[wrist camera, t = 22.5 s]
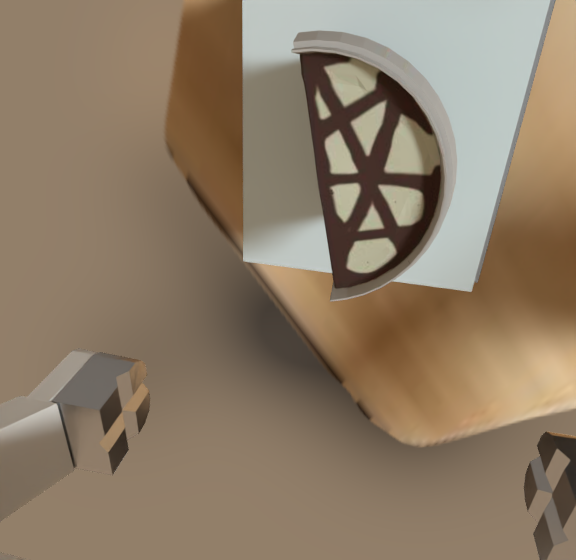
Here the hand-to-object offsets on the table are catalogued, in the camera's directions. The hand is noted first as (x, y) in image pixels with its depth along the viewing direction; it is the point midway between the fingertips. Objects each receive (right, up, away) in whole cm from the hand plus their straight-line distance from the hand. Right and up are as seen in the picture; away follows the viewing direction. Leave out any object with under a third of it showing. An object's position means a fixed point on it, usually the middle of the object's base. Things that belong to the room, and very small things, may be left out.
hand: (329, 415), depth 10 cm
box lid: (+4, +12, +20) cm, 24 cm away
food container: (+5, +12, +19) cm, 23 cm away
